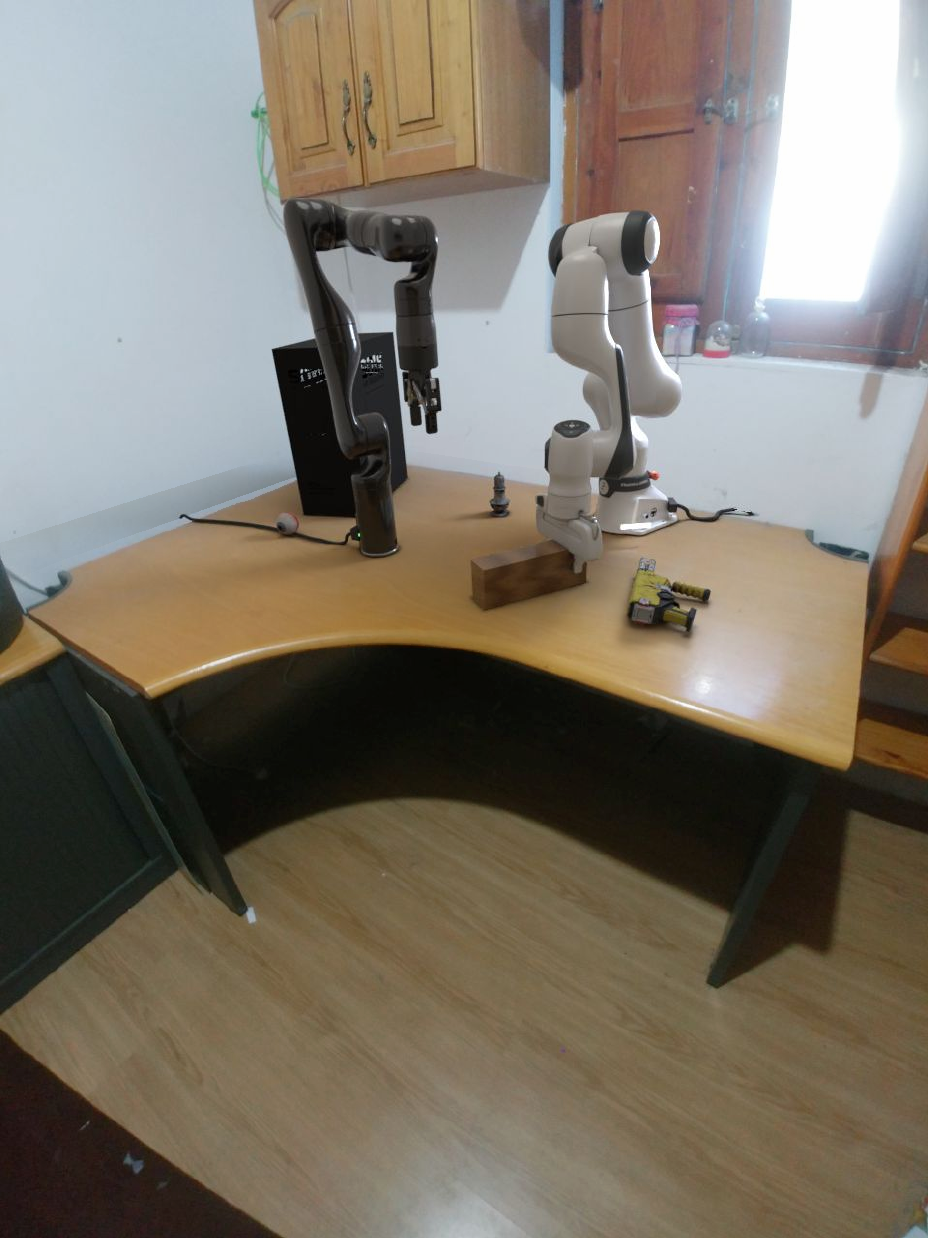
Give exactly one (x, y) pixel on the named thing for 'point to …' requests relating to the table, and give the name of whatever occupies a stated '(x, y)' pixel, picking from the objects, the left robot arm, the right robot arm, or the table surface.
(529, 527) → the table surface
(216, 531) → the table surface
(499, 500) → the grey chess piece
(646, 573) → the toy gun
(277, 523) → the eyeball
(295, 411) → the cardboard box
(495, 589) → the box
